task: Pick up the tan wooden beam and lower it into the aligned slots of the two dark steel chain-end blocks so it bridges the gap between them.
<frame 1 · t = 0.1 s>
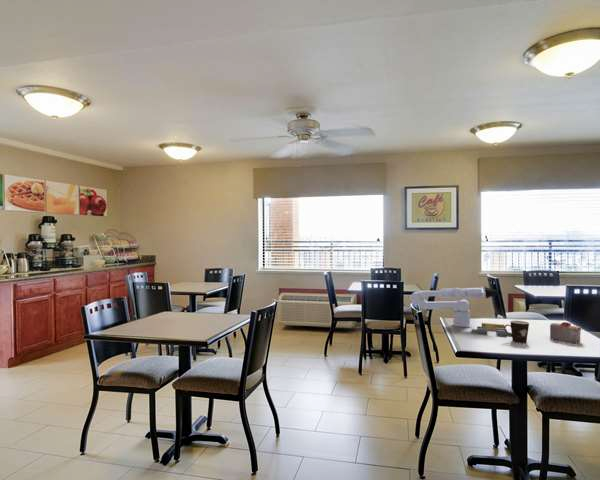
hand: (498, 292, 238), 22 cm above the table, tool horizontal, fingers open, 7 cm apart
right chain end: (501, 334, 223), on the table
tan wooden beam: (492, 330, 235), on the table
food item: (565, 341, 211), on the table
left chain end: (482, 333, 227), on the table
coffee mug: (516, 341, 210), on the table
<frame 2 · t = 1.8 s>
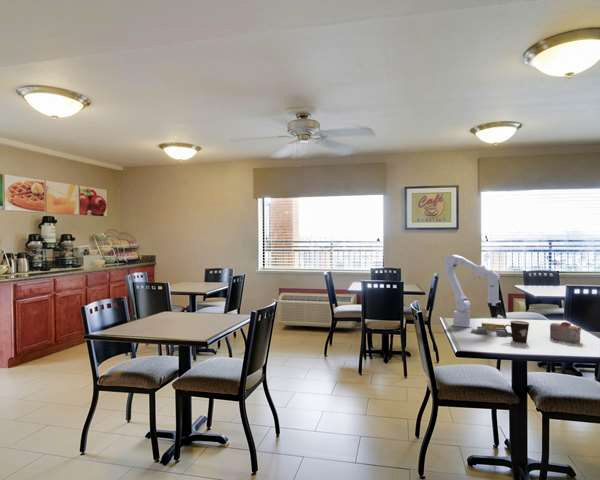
hand: (493, 316, 235), 8 cm above the table, tool pointing down, fingers open, 7 cm apart
nothing on the table moved.
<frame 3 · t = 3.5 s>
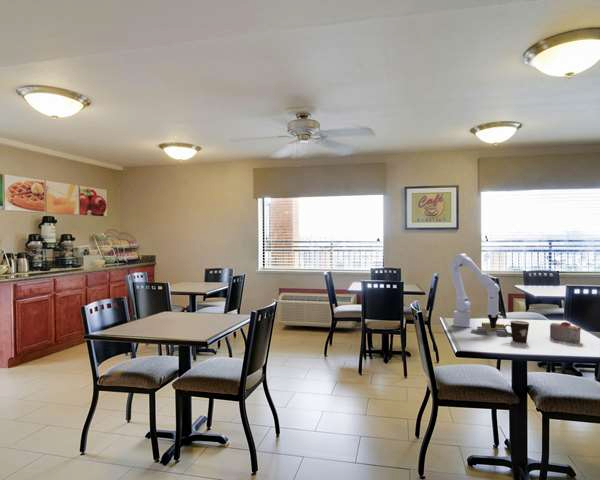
hand: (492, 327, 235), 1 cm above the table, tool pointing down, fingers closed on tan wooden beam, 2 cm apart
tan wooden beam: (492, 330, 235), on the table, touching gripper
everything else where it was.
when the fingers open (4 cm above the table, at t = 6.3 s): tan wooden beam stays where it is, resting on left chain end, right chain end.
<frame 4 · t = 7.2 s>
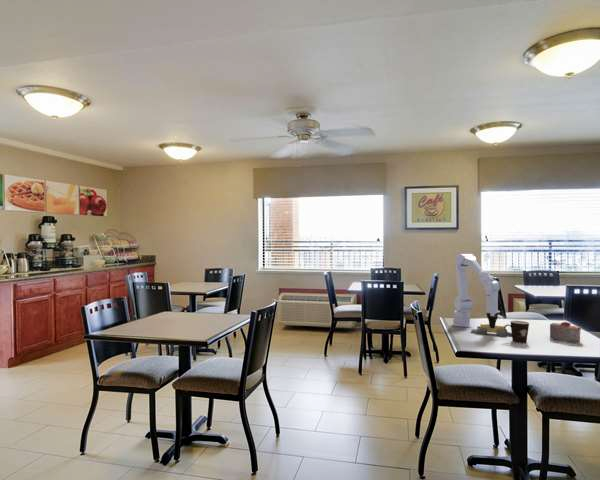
hand: (491, 326, 225), 4 cm above the table, tool pointing down, fingers open, 7 cm apart
tan wooden beam: (492, 332, 225), point 1 cm above the table, touching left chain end, right chain end
everything else where it was.
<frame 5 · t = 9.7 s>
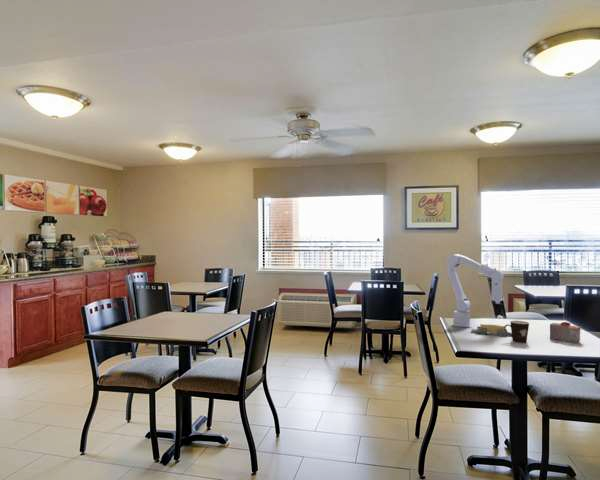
hand: (496, 314, 234), 9 cm above the table, tool pointing down, fingers open, 7 cm apart
nothing on the table moved.
at the end: tan wooden beam 0.1 cm from the target spot, point 1.0 cm above the table; tan wooden beam tilted 0°; tan wooden beam touching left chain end, right chain end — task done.
